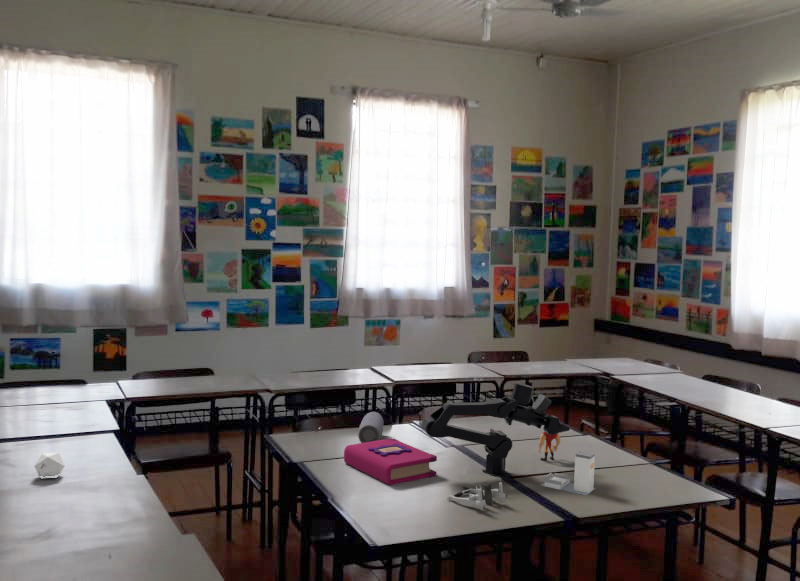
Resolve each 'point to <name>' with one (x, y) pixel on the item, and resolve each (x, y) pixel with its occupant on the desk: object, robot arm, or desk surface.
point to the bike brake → (480, 495)
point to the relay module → (584, 472)
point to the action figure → (548, 444)
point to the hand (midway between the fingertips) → (563, 425)
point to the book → (390, 460)
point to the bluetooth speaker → (371, 427)
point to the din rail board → (561, 483)
